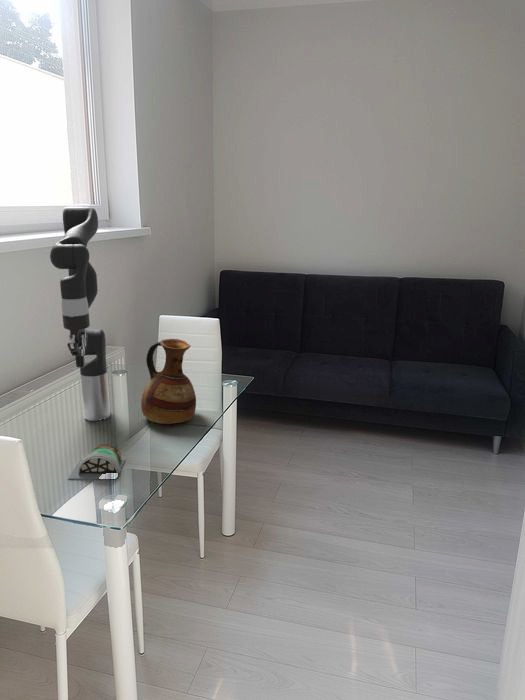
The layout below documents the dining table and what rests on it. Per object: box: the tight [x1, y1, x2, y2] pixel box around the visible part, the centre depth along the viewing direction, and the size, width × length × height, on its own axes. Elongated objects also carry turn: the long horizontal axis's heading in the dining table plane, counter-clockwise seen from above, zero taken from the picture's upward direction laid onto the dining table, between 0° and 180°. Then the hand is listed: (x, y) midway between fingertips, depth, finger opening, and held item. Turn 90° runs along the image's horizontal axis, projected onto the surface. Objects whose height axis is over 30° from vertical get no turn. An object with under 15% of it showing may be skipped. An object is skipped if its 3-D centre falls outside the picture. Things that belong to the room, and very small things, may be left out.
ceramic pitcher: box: [140, 338, 197, 425], centre depth 190 cm, size 20×20×30 cm
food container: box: [79, 443, 123, 474], centre depth 159 cm, size 12×6×10 cm
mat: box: [68, 459, 126, 481], centre depth 158 cm, size 11×14×1 cm
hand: (80, 366), depth 163 cm, fingers closed
